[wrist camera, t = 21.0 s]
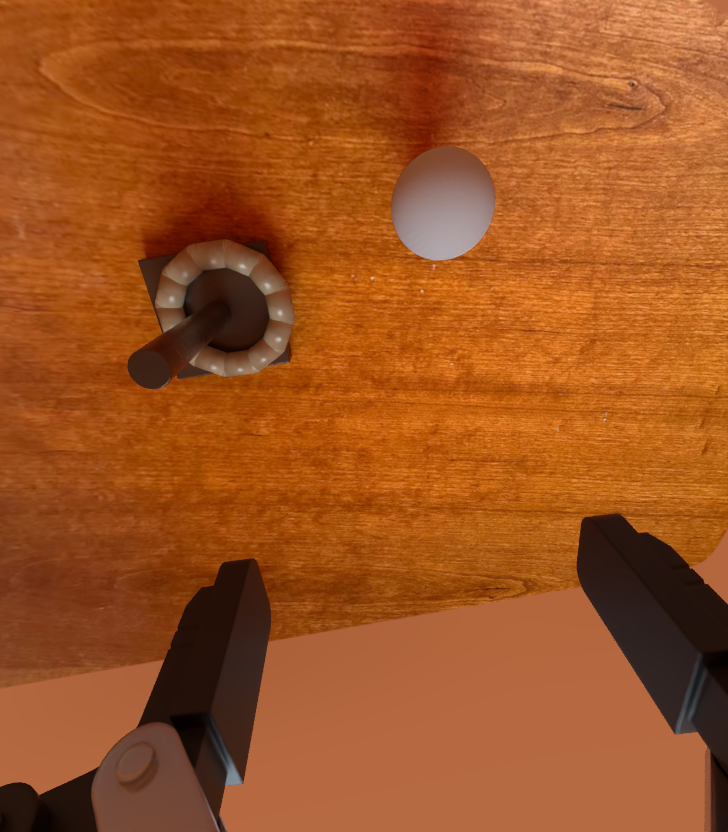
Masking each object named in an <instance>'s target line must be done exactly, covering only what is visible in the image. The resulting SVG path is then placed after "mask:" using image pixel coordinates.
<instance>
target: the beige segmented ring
mask: <svg viewBox="0 0 728 832" xmlns="http://www.w3.org/2000/svg"><path fill="white" fill-rule="evenodd" d="M219 268H229V269H231V270H234V271H236V272H239V273H241V274H244V275H246V276H249V277H250V278H251V280H252V281H253V282H254V283H255V284H256V285H257V287H258V288H259V289H260V290H261V291H262V292H263V294H264V295H265V298H266V303H267V307H268V312H269V316H270V318H269V322H268V325H267V328H266V331H265V334H264V337H263V338H262V339H261V340H259V341H258V342H257V343H256V344H255V345H253V346H252V347H251V348H250V349H248V350H244V351H237V352H230V353H226V352H224V351H221V350H218V349H215V348H213V347H210V346H206V347H204V348H203V349H202V350H201V351H200V352H199V353H198V354H197V355H196V356H195V357H194V358H193V359H192V360H191V361H190V362H189V363H190V364H191V365H193V366H195V367H198V368H201V369H203V370H206V371H209V372H212V373H215V374H218V375H221V376H224V377H231V376H238V375H244V374H251V373H257V372H260V371H261V370H263V369H264V368H265V367H266V366H268V365H269V364H270V363H271V362H273V361H274V360H275V359H276V358H278V357H279V356H280V355H281V354H282V353H283V352H284V351H285V349H286V346H287V343H288V340H289V337H290V335H291V332H292V329H293V326H294V323H295V315H294V310H293V304H292V299H291V294H290V289H289V286H288V283H287V282H286V281H285V279H284V278H283V277H282V276H281V275H280V273H279V272H278V271H277V270H276V268H275V267H274V266H273V265H272V264H271V262H270V261H269V260H268V259H267V257H266V256H265V255H263V254H262V253H260V252H258V251H255V250H253V249H250V248H248V247H246V246H243V245H241V244H238V243H236V242H234V241H231V240H228V239H221V240H215V241H208V242H201V243H194V244H190V245H188V246H187V247H185V248H184V249H183V250H182V251H181V252H180V253H179V254H178V255H177V256H176V257H175V258H174V259H173V260H171V261H170V262H169V263H168V264H167V265H166V266H165V267H164V268H163V270H162V273H161V277H160V282H159V286H158V291H157V295H156V300H155V307H156V311H157V314H158V317H159V320H160V323H161V326H162V329H163V332H166V331H167V330H169V329H170V328H172V327H173V326H175V325H177V324H178V323H180V322H181V321H183V320H184V319H186V314H185V311H184V308H183V304H184V300H185V296H186V292H187V287H188V285H189V284H190V283H191V282H192V281H193V280H194V279H195V278H196V277H198V276H199V275H200V274H201V273H202V272H203V271H205V270H212V269H219Z"/></svg>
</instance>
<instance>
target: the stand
mask: <svg viewBox="0 0 728 832" xmlns="http://www.w3.org/2000/svg"><path fill="white" fill-rule="evenodd" d="M241 245H243V246H246V247H248V248H250V249H253V250H255V251H258V252H260V253H262V254H263V255H265V256H266V257H267V259H268V260H269V261H270V262H271V259H270V255H269V250H268V246H267V241H266V240H264V241H257V242H251V243H244V244H241ZM177 255H178V254H172V255H166V256H159V257H153V258H146V259H142V260H138V263H139V266H140V269H141V271H142V274H143V277H144V280H145V283H146V286H147V289H148V292H149V295H150V298H151V301H152V304H153V307H154V310H155V313H156V316H157V318H158V321H159V324H160V327H161V330H162V333H163V334H161V335H160V336H158V337H157V338H155V339H154V340H152V341H151V342H149V343H148V344H146V345H145V346H143V347H142V348H140V349H139V350H137V351H136V352H134V353H133V354H132V355H131V356H130V358H129V360H128V371H129V374H130V376H131V378H132V379H133V380H134V381H135V382H136V383H137V384H139V385H140V386H142V387H144V388H148V389H159V388H162V387H164V386H165V385H166V384H168V383H169V382H170V381H171V380H172V379H173V378H174V377H175V376H176V375H177V377H178V379H183V378H189V377H196V376H203V375H209V374H215V373H212V372H209V371H206V370H203V369H201V368H198V367H195V366H193V365H191V364H190V363H189V362H190V361H191V360H192V359H193V358H194V357H195V356H196V355H197V354H198V353H199V352H200V351H201V350H202V349H203V348H204V347H206V346H210V347H213V348H215V349H218V350H221V351H224V352H226V353H230V352H237V351H244V350H248V349H250V348H251V347H252V346H253V345H255V344H256V343H257V342H258V341H259V340H261V339H262V338H263V337H264V334H265V331H266V328H267V325H268V322H269V318H270V316H269V312H268V307H267V303H266V298H265V295H264V294H263V292H262V291H261V290H260V289H259V288H258V287H257V285H256V284H255V283H254V282H253V281H252V280H251V278H250V277H249V276H246V275H244V274H241V273H239V272H236V271H234V270H231V269H229V268H219V269H212V270H205V271H203V272H202V273H201V274H200V275H199V276H198V277H196V278H195V279H194V280H193V281H192V282H191V283H190V284H189V285H188V287H187V292H186V296H185V300H184V304H183V308H184V311H185V314H186V319H184V320H183V321H181V322H180V323H178V324H177V325H175V326H173V327H172V328H170V329H169V330H167V331H166V332H163V329H162V326H161V323H160V320H159V317H158V314H157V311H156V307H155V300H156V295H157V291H158V286H159V282H160V277H161V273H162V270H163V268H164V267H165V266H166V265H167V264H168V263H169V262H170V261H171V260H173V259H174V258H175V257H176V256H177ZM291 357H292V356H291V351H290V347H289V342H288V343H287V346H286V349H285V351H284V352H283V353H282V354H281V355H280V356H279V357H278V358H276V359H275V360H274V361H273V362H271V363H270V364H269V365H275V364H282V363H289V362H290V360H291ZM269 365H268V366H269Z"/></svg>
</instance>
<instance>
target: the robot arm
mask: <svg viewBox="0 0 728 832" xmlns="http://www.w3.org/2000/svg"><path fill="white" fill-rule="evenodd" d="M577 573H578V578H579V581H580V584H581V586H582V588H583V590H584V592H585V594H586V595H587V597H588V598H589V600H590V602H591V603H592V605H593V606H594V608H595V609H596V611H597V612H598V614H599V616H600V617H601V619H602V620H603V622H604V624H605V625H606V627H607V628H608V630H609V631H610V633H611V634H612V636H613V638H614V639H615V641H616V642H617V644H618V646H619V647H620V648H621V650H622V651H623V653H624V655H625V657H626V658H627V660H628V661H629V663H630V664H631V666H632V668H633V669H634V671H635V672H636V674H637V675H638V677H639V679H640V680H641V681H642V683H643V685H644V686H645V688H646V689H647V691H648V693H649V694H650V696H651V697H652V699H653V700H654V702H655V704H656V705H657V707H658V708H659V710H660V711H661V713H662V715H663V716H664V718H665V719H666V721H667V722H668V724H669V726H670V727H671V729H672V730H673V732H674V733H675V734H683V733H692V732H698V733H699V734H700V736H701V737H702V739H703V740H704V742H705V743H706V745H707V746H708V747H707V749H706V753H705V832H728V604H727V603H726V602H725V601H724V600H723V599H722V598H721V597H720V596H719V595H718V594H717V593H716V592H715V591H714V590H713V589H712V588H711V587H710V586H709V585H708V584H705V583H704V580H703V579H702V578H701V577H700V576H699V575H698V574H697V573H696V572H695V571H694V570H693V569H690V568H689V565H688V564H687V563H686V562H685V561H684V560H683V559H682V557H681V556H680V555H679V554H678V553H677V552H676V551H675V550H674V549H673V548H672V547H671V546H669V545H667V544H666V543H664V542H662V541H661V540H659V539H657V538H656V537H654V536H652V535H650V534H649V533H647V532H645V533H638V532H637V531H636V530H635V529H634V528H633V527H632V526H631V525H630V524H629V523H628V522H627V520H626V519H625V518H624V517H623V516H621V515H620V514H617V513H615V514H607V515H599V516H591V517H585V518H584V519H583V520H582V523H581V530H580V539H579V548H578V557H577ZM270 627H271V610H270V603H269V599H268V596H267V593H266V590H265V586H264V583H263V580H262V576H261V573H260V570H259V566H258V563H257V561H256V560H255V559H254V558H252V559H244V560H237V561H229V562H224V563H222V565H221V566H220V569H219V572H218V575H217V578H216V580H215V583H214V586H209V587H202V588H201V589H200V590H199V591H198V592H197V594H196V595H195V596H194V597H193V598H192V600H191V601H190V602H189V603H188V604H187V606H186V608H185V610H184V613H183V615H182V618H181V620H180V623H179V625H178V631H176V632H175V635H174V637H173V640H172V642H171V649H169V650H168V652H167V655H166V657H165V660H164V663H163V665H162V668H161V670H160V672H159V675H158V678H157V680H156V682H155V685H154V687H153V690H152V693H151V695H150V697H149V700H148V702H147V705H146V707H145V710H144V712H143V715H142V717H141V720H140V722H139V724H138V726H137V728H136V729H134V730H132V731H131V732H129V733H128V734H126V735H125V736H124V737H123V738H121V739H120V740H119V741H118V742H117V743H116V744H115V745H114V746H113V747H112V749H111V750H110V751H109V752H108V753H107V755H106V756H105V758H104V759H103V760H102V762H101V764H100V766H99V767H97V768H96V769H94V770H92V771H90V772H88V773H86V774H84V775H82V776H80V777H77V778H75V779H73V780H71V781H69V782H67V783H64V784H62V785H60V786H58V787H56V788H54V789H51V790H49V791H47V792H45V793H43V794H41V795H38V793H37V792H36V791H35V790H34V789H33V788H32V787H31V786H30V785H28V784H26V783H21V782H19V783H11V784H7V785H4V786H2V787H0V832H227V829H226V827H225V825H224V822H223V820H222V817H221V815H220V808H221V803H222V798H223V793H224V789H225V786H230V785H238V784H243V781H244V776H245V770H246V765H247V759H248V753H249V747H250V742H251V735H252V730H253V725H254V719H255V713H256V708H257V702H258V696H259V691H260V685H261V679H262V673H263V667H264V662H265V656H266V650H267V645H268V639H269V634H270Z"/></svg>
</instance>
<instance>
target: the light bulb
mask: <svg viewBox="0 0 728 832" xmlns="http://www.w3.org/2000/svg"><path fill="white" fill-rule="evenodd" d="M494 208H495V189H494V185H493V181H492V178H491V176H490V173H489V172H488V170H487V168H486V167H485V165H484V164H483V163H482V162H481V161H480V160H479V159H478V158H477V157H476V156H475V155H473V154H472V153H470V152H468V151H466V150H464V149H461V148H457V147H450V146H447V147H438V148H434V149H430V150H428V151H426V152H424V153H422V154H420V155H419V156H417V157H416V158H414V159H413V160H412V161H411V162H410V163H409V164H408V165H407V166H406V168H405V169H404V170H403V171H402V173H401V175H400V177H399V178H398V180H397V183H396V185H395V188H394V191H393V195H392V203H391V214H392V220H393V224H394V227H395V230H396V232H397V234H398V236H399V238H400V239H401V241H402V242H403V243H404V245H405V246H406V247H407V248H409V249H410V250H411V251H412V252H414V253H415V254H417V255H419V256H421V257H423V258H427V259H431V260H447V259H452V258H455V257H458V256H460V255H462V254H464V253H466V252H467V251H469V250H470V249H471V248H473V247H474V246H475V245H476V244H477V243H478V242H479V241H480V240H481V238H482V237H483V236H484V234H485V233H486V231H487V229H488V227H489V225H490V223H491V220H492V217H493V213H494Z"/></svg>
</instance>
